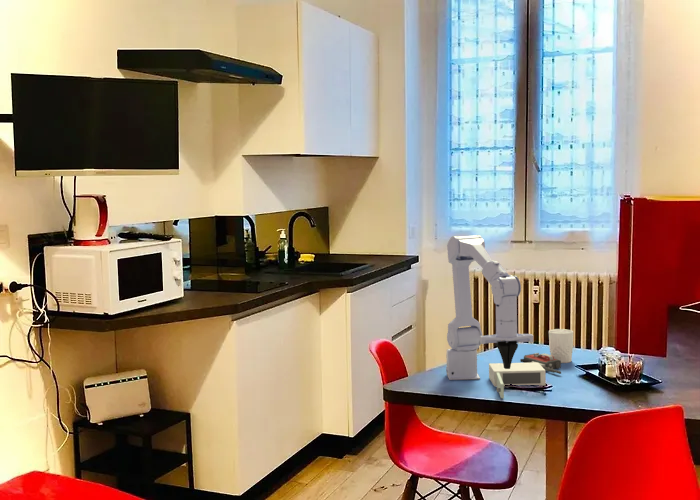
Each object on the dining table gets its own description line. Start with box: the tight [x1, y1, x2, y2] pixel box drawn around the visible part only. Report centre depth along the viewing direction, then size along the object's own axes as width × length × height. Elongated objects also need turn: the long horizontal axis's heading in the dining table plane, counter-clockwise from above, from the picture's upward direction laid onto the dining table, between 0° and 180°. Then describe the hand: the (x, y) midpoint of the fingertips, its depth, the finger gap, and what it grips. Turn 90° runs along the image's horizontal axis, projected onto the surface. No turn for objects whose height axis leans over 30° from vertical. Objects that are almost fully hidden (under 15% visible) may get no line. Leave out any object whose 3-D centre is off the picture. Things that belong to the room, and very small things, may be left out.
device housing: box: [488, 362, 547, 387], centre depth 229 cm, size 15×10×4 cm
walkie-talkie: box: [519, 352, 562, 375], centre depth 244 cm, size 9×4×20 cm
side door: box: [496, 373, 505, 399], centre depth 217 cm, size 13×2×4 cm, turn 174°
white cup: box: [548, 328, 574, 364], centre depth 253 cm, size 8×8×10 cm
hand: (506, 368), depth 212 cm, fingers closed
